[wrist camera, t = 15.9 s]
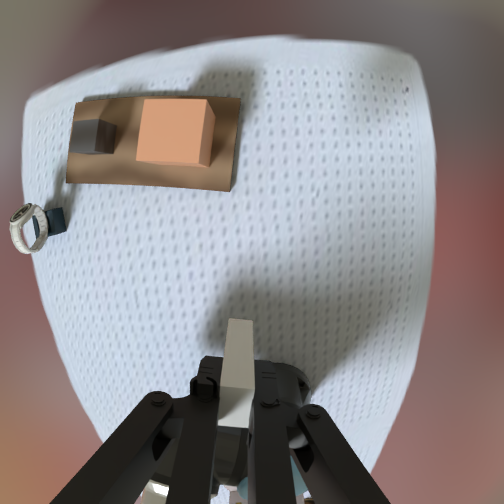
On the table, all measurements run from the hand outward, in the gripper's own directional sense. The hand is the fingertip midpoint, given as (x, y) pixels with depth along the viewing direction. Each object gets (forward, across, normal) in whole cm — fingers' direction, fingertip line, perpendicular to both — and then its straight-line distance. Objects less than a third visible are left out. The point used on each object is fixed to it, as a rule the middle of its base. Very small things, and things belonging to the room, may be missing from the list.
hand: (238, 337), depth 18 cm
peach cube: (+25, +10, -15) cm, 31 cm away
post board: (+26, +17, -15) cm, 35 cm away
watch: (+27, +35, -1) cm, 44 cm away
